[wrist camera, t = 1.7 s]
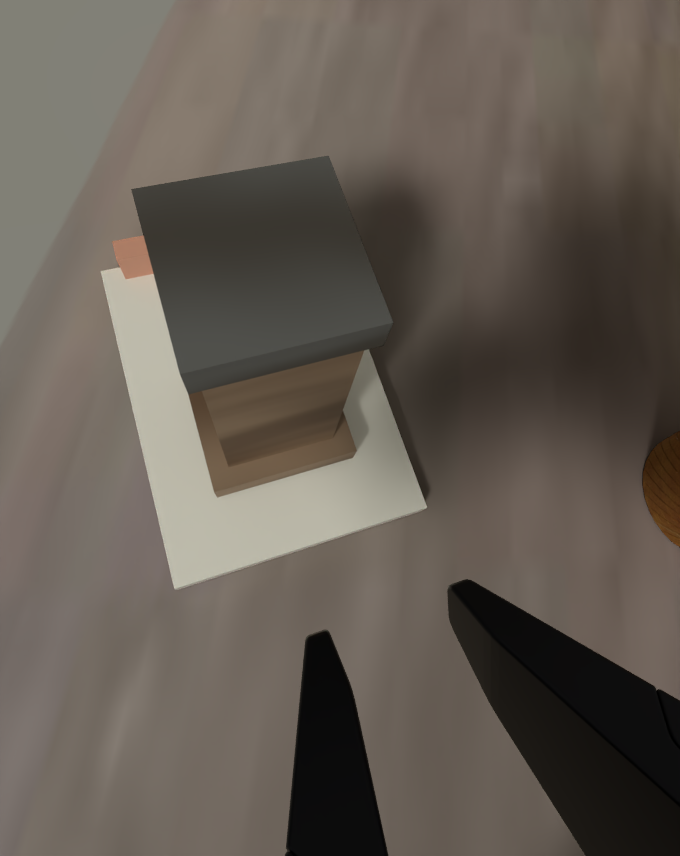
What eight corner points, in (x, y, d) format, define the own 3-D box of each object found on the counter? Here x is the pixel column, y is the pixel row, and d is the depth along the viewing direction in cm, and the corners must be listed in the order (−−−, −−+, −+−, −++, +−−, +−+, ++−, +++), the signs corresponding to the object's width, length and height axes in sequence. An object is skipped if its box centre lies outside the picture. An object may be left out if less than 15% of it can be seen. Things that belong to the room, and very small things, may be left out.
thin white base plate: (421, 511, 24) (437, 501, 22) (178, 589, 22) (167, 588, 20) (320, 234, 28) (324, 201, 26) (105, 277, 26) (88, 245, 24)
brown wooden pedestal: (353, 457, 23) (420, 336, 12) (217, 497, 22) (161, 400, 11) (312, 338, 25) (340, 137, 14) (183, 369, 24) (105, 176, 13)
